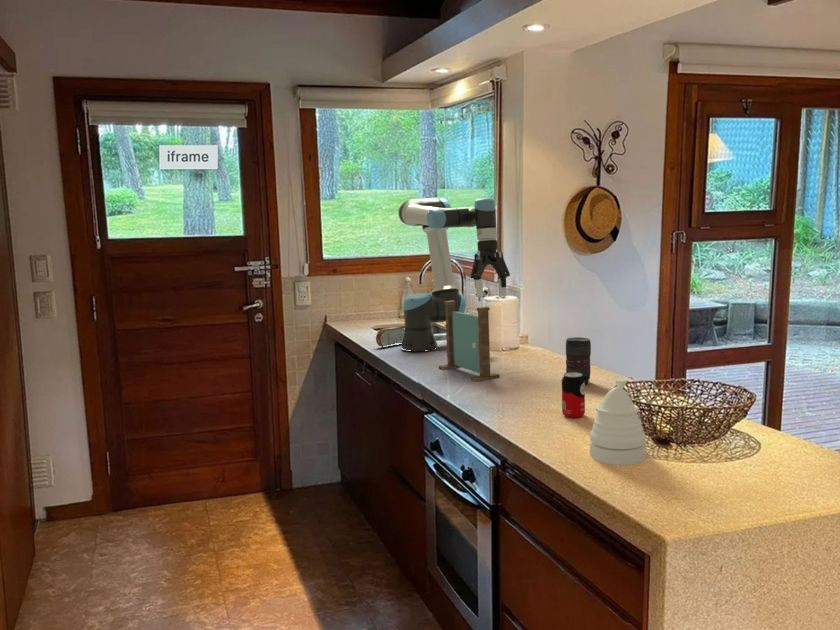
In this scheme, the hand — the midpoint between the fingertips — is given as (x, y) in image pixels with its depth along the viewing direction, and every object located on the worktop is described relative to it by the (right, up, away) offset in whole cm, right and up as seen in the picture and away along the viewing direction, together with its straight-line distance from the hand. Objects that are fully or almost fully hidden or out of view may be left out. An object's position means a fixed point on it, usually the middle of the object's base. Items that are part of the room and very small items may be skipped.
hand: (491, 296), depth 279 cm
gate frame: (-9, -28, -11) cm, 32 cm away
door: (-10, -26, -12) cm, 31 cm away
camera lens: (+26, -30, -34) cm, 52 cm away
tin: (-39, -21, +46) cm, 64 cm away
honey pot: (+20, -41, -103) cm, 113 cm away
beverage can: (+17, -36, -70) cm, 80 cm away
